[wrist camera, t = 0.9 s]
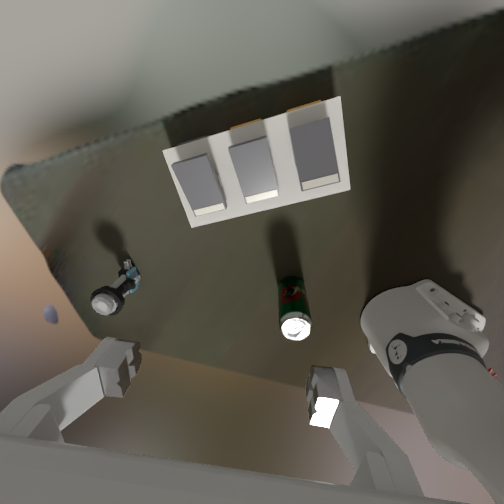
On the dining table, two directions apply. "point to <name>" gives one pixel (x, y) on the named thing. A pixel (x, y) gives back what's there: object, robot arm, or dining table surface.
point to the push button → (116, 291)
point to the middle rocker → (254, 169)
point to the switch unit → (280, 156)
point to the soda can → (293, 309)
